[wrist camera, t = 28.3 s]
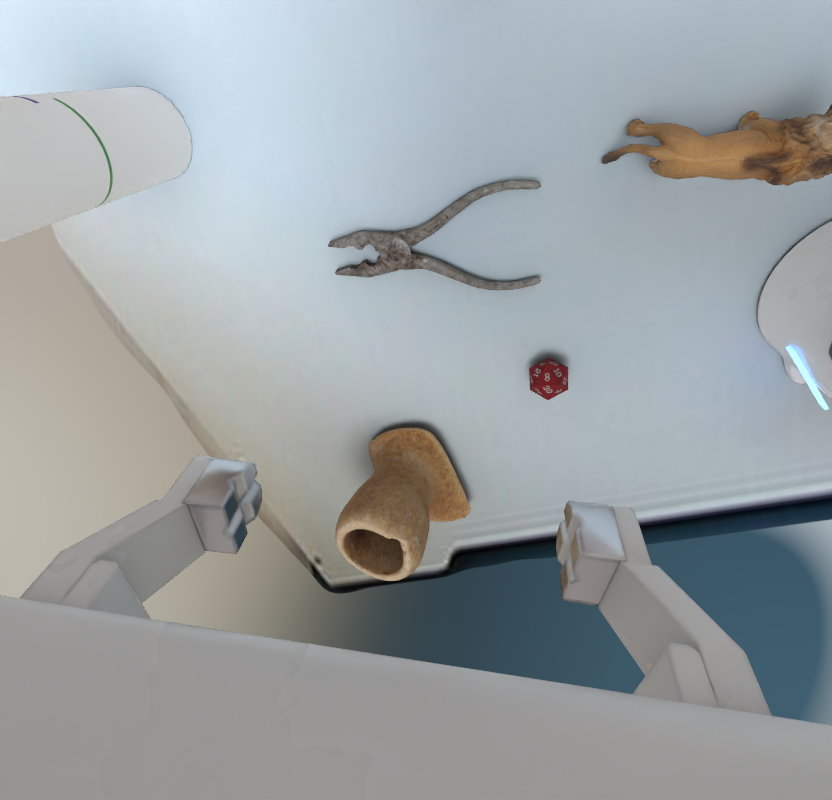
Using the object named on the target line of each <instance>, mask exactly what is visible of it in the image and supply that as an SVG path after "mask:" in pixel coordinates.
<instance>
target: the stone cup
mask: <svg viewBox="0 0 832 800" xmlns="http://www.w3.org/2000/svg"><path fill="white" fill-rule="evenodd" d="M369 452H370V456H371V459H372V462H373V466H374V469H375V473H374V474H373V475H372V476H371V477H370V478H369V479H368V480H367V481H366V482H365V483H364V484H363V485H362V486H361V487H360V488H359V489H358V490H357V491H356V493H355V494H354V495H353V497H352V498H351V499H350V500H349V502H348V503H347V504H346V506H345V507H344V509H343V510H342V512H341V514H340V516H339V519H338V522H337V526H336V534H335V538H336V544H337V547H338V549H339V550H340V552H341V553H342V555H343V556H344V558H345V559H346V560H347V561H348V562H349V563H350V564H352V565H353V566H354V567H355V568H357V569H358V570H360V571H361V572H363V573H365V574H369V575H370V576H371V577H375V578H378V579H381V580H387V581H395V580H400V579H402V578H405V577H407V576H408V575H410V574H411V573H412V572H414V571H415V569H416V568H417V567H418V566H419V564H420V562H421V559H422V556H423V553H424V550H425V546H426V542H427V538H428V533H429V521H435V522H447V521H454V520H457V519H461V518H463V517H465V516H467V515H468V514H469V512H470V510H471V508H470V505H469V502H468V500H467V498H466V495H465V492H464V490H463V488H462V486H461V483H460V481H459V479H458V477H457V475H456V472H455V470H454V468H453V466H452V464H451V462H450V460H449V458H448V456H447V454H446V453H445V451H444V449H443V447H442V446H441V444H440V443H439V441H438V440H437V439H436V438H435V436H434V435H433V434H432V433H431V432H429V431H427V430H425V429H422V428H399V429H394V430H390V431H386V432H384V433H382V434H380V435H378V436H377V437H376V439H374V440H372V441H371V442H370V444H369Z"/></svg>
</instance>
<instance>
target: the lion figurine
mask: <svg viewBox="0 0 832 800" xmlns="http://www.w3.org/2000/svg"><path fill="white" fill-rule="evenodd" d="M627 135H629V136H636V137H642V136H652V137H654V138H657V139H659V141H660V143H661V144H662V146H649V145H642V144H630V145H627V146H625V147H623V148H621V149H620V150H618V151H615V152H610V153H609V154H608V155H606V156H604V157H603V159H602V163H603V164H606V163H609V162H612V161H616V160H617V159H619V158H620V157H621V156H623V155H624V154H626V153H630V152H636V153H641V154H644V155H647V156H651V157H653V158H655V160H652V161H650V163H649V166H650V167H651V168H652V169H653V171H654V172H655V173H656V174H658V175H660V176H663V177H668V178H673V179H682V178H693V177H699V176H704V177H712V178H721V179H729V180H736V179H748V178H755V179H758V180H766V181H767V182H768V183H770V184H772V185H782V184H785V185H791V184H793V183H794V182H798V181H808V180H810V179H812V178H814V179H819V178H822V177H824V176H825V175H829V174H831V173H832V105H831V106H830V108H829V109H828V111H827V112H826V113H825V114H824V115H821V114H811V115H808V116H807V117H805V118H801V117H799V118H793V119H785V120H782V121H780V122H779V121H775V120H771V119H760V118H759V114H758V113H756V112H755V111H750V112H749V113H747V114H746V115H745V116H744V117H743V118H742V119H741V120H740V122H739V126H738V130H736V131H731V132H724V133H717V134H713V135H710V136H706V137H703V136H701V135H700V134H698V133H697V132H696V131H694V130H693V129H691V128H688V127H685V126H680V125H677V124H671V123H662V124H644V122H643V121H641V120H640V119H636V120H633V121H631V122H630V123H629V124H628V127H627Z"/></svg>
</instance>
